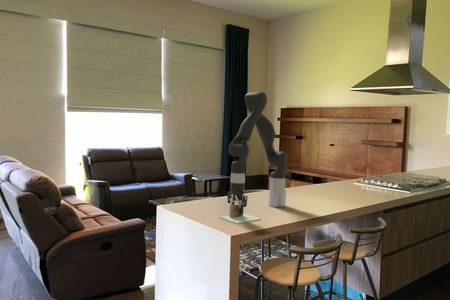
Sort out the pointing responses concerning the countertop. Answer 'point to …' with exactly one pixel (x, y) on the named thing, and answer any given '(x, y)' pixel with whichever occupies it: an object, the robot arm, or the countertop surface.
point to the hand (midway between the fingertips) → (236, 213)
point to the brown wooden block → (234, 211)
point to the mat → (240, 218)
